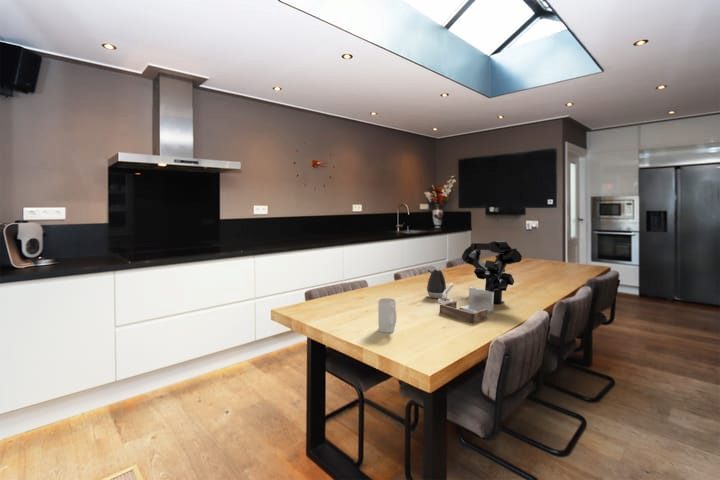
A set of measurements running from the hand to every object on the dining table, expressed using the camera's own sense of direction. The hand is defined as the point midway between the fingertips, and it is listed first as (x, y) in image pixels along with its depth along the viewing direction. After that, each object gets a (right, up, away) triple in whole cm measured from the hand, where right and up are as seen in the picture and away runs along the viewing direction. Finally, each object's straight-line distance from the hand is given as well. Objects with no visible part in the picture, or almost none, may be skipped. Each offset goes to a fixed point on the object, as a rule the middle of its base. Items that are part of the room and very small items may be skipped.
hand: (486, 290), depth 175 cm
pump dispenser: (-19, -7, +21) cm, 30 cm away
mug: (-49, -12, -31) cm, 59 cm away
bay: (-14, -10, -10) cm, 20 cm away
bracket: (-6, -10, -4) cm, 12 cm away
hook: (-17, -8, +12) cm, 22 cm away
